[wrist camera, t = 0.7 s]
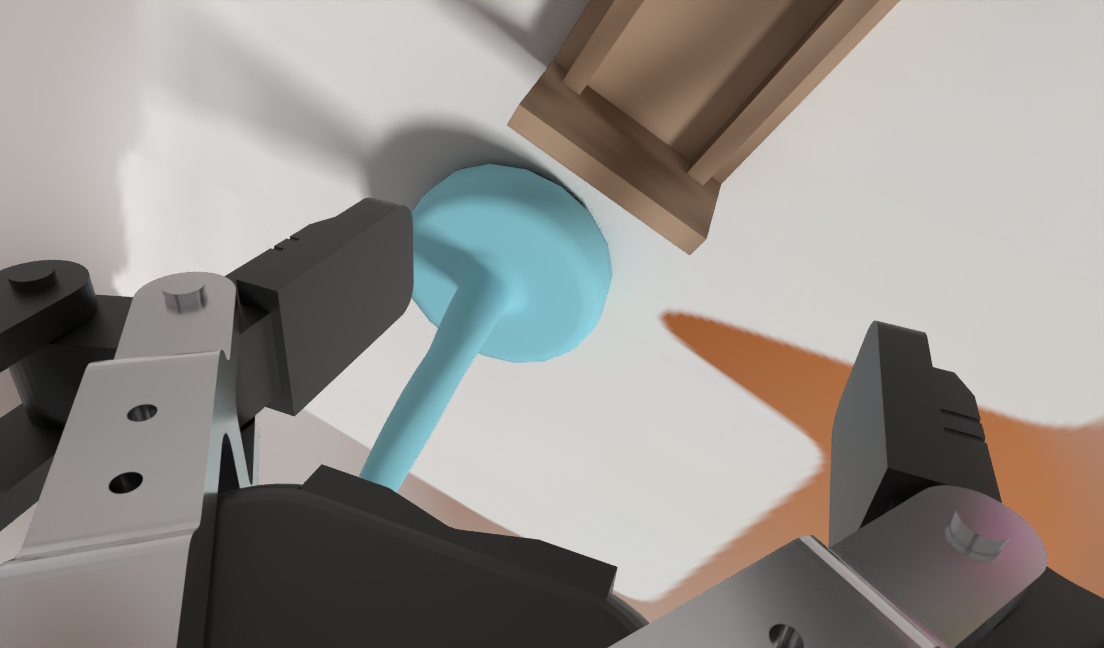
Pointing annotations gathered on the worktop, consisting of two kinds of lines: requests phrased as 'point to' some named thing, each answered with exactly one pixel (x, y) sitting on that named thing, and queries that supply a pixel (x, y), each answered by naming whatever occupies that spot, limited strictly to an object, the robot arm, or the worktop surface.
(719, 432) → the worktop surface
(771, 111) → the roll cradle
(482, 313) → the blue towel holder stand
